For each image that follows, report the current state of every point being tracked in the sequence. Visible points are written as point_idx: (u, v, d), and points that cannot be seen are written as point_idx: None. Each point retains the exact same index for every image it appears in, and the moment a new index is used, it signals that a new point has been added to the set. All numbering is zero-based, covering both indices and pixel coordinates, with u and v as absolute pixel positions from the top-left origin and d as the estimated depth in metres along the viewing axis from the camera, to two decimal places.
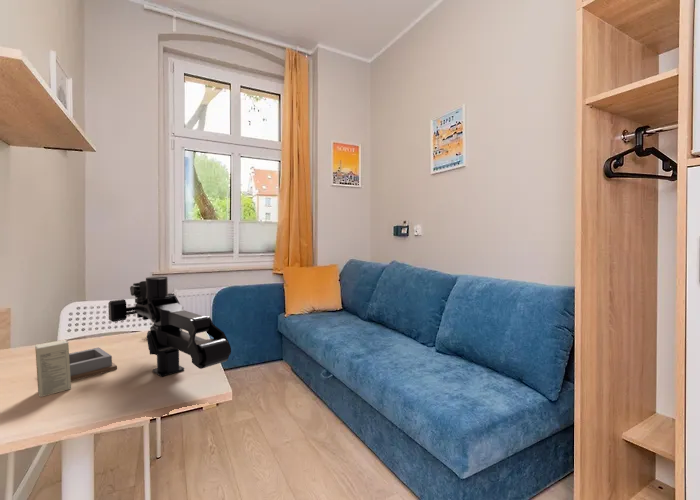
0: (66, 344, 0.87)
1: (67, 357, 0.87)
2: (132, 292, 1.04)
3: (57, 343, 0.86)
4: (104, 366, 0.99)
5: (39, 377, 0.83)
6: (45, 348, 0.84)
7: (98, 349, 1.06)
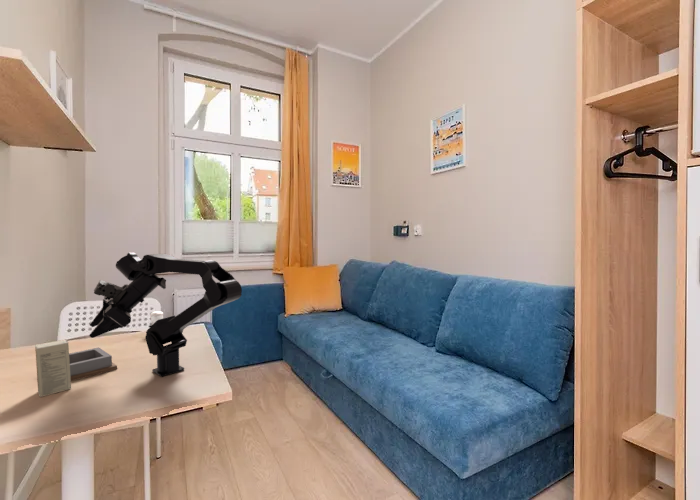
0: (66, 344, 0.87)
1: (67, 357, 0.87)
2: (111, 290, 0.93)
3: (57, 343, 0.86)
4: (104, 366, 0.99)
5: (39, 377, 0.83)
6: (45, 348, 0.84)
7: (98, 349, 1.06)
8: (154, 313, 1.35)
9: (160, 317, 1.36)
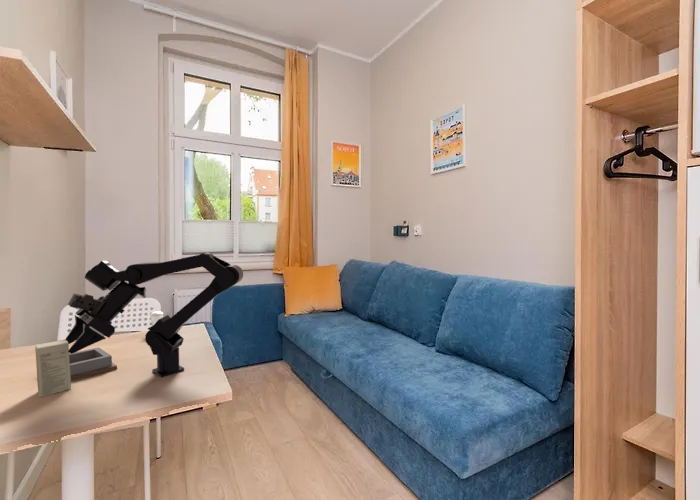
0: (66, 344, 0.87)
1: (67, 357, 0.87)
2: (90, 301, 0.88)
3: (57, 343, 0.86)
4: (104, 366, 0.99)
5: (39, 377, 0.83)
6: (45, 348, 0.84)
7: (98, 349, 1.06)
8: (154, 313, 1.35)
9: (160, 317, 1.36)
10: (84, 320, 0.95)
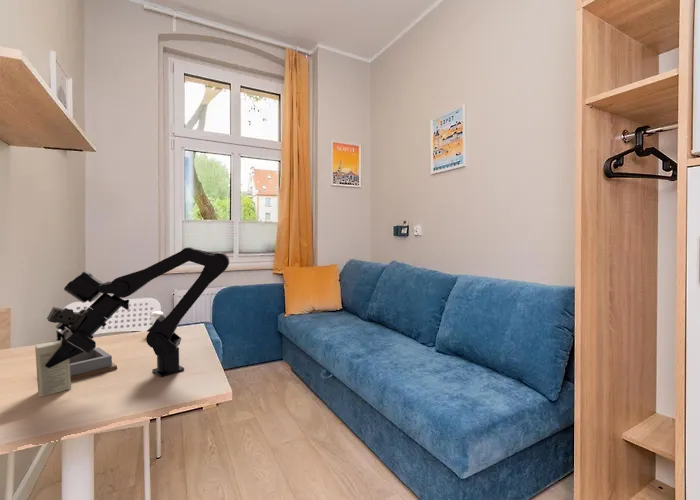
0: None
1: None
2: (69, 316, 0.85)
3: (57, 343, 0.86)
4: (104, 366, 0.99)
5: (39, 377, 0.83)
6: (45, 348, 0.84)
7: (98, 349, 1.06)
8: (154, 313, 1.35)
9: None
10: (66, 336, 0.91)
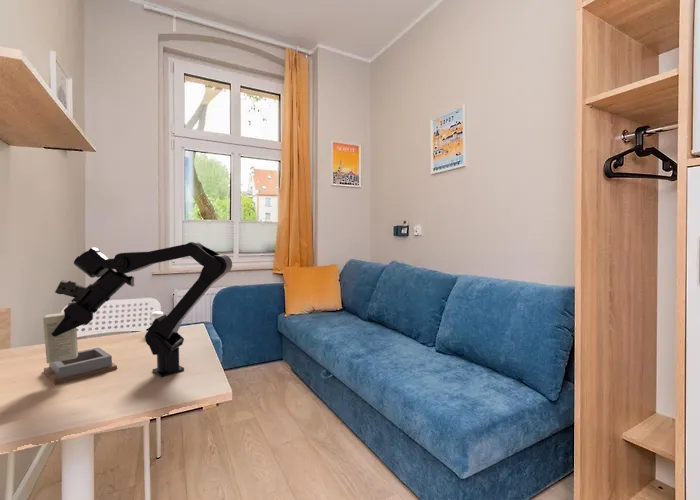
0: None
1: None
2: (72, 288, 0.89)
3: (64, 314, 0.91)
4: (104, 366, 0.99)
5: (46, 345, 0.88)
6: (51, 318, 0.89)
7: (98, 349, 1.06)
8: (154, 313, 1.35)
9: None
10: None
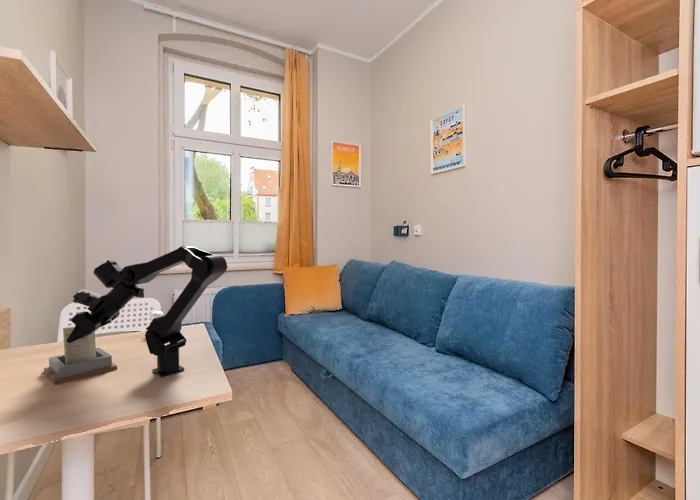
0: None
1: (86, 339, 0.98)
2: (84, 298, 0.96)
3: None
4: (104, 366, 0.99)
5: (65, 353, 0.97)
6: (69, 328, 0.97)
7: (98, 349, 1.06)
8: (154, 313, 1.35)
9: None
10: None
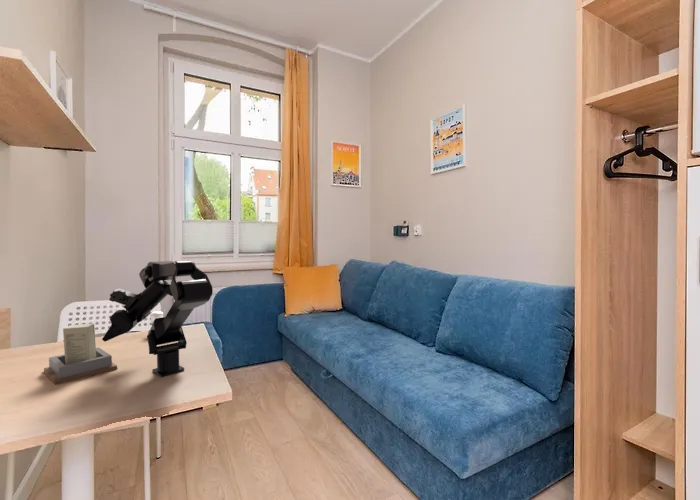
0: (86, 328, 0.98)
1: (86, 339, 0.98)
2: (120, 297, 0.98)
3: (81, 326, 0.98)
4: (104, 366, 0.99)
5: (65, 353, 0.97)
6: (69, 329, 0.97)
7: (98, 349, 1.06)
8: (154, 313, 1.35)
9: (160, 317, 1.36)
10: None
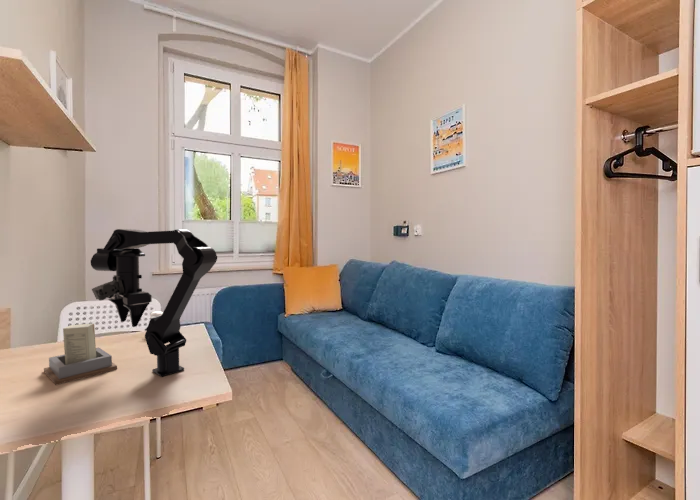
0: (86, 328, 0.98)
1: (86, 339, 0.98)
2: (111, 288, 0.95)
3: (81, 326, 0.98)
4: (104, 366, 0.99)
5: (65, 353, 0.97)
6: (69, 329, 0.97)
7: (98, 349, 1.06)
8: (154, 313, 1.35)
9: None
10: (119, 298, 1.05)
